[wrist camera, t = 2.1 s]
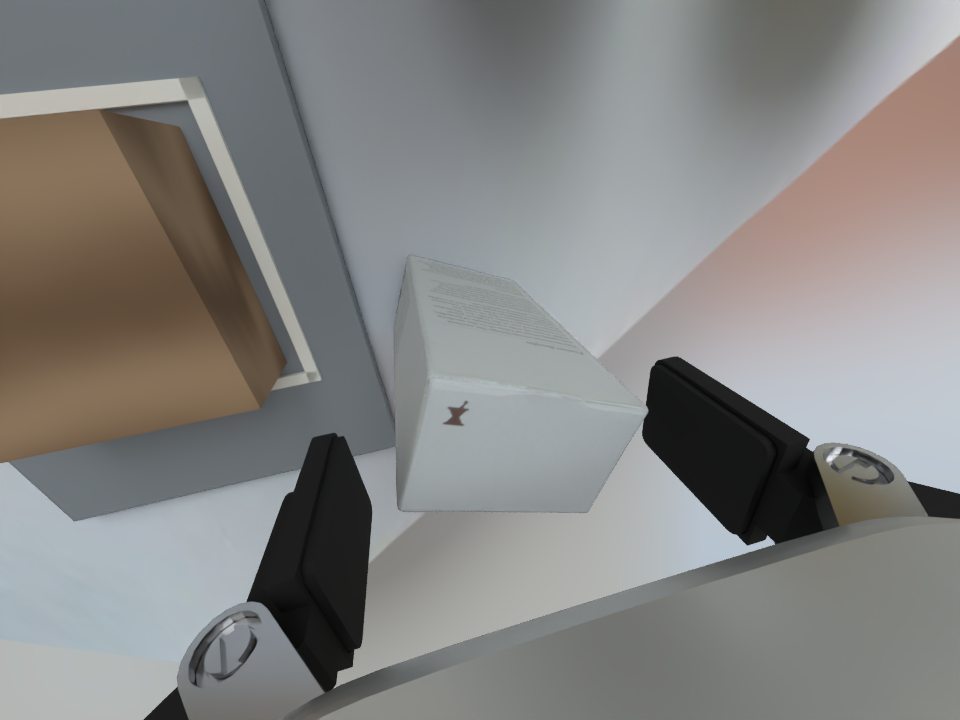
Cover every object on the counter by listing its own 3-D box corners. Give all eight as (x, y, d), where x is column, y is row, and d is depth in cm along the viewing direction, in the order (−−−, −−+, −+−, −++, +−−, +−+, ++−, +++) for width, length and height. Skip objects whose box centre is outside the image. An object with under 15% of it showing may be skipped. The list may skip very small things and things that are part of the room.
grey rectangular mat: (-596, -152, 8) (-737, -198, 7) (214, -162, 10) (194, -198, 9) (88, 506, 20) (71, 524, 19) (398, 435, 22) (398, 448, 21)
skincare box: (392, 329, 19) (388, 516, 9) (407, 252, 17) (424, 370, 7) (494, 348, 21) (590, 519, 11) (517, 279, 19) (658, 405, 9)
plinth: (-151, 162, 11) (-388, 158, 8) (179, 126, 13) (98, 109, 9) (65, 405, 16) (-23, 468, 13) (287, 362, 18) (260, 408, 14)
